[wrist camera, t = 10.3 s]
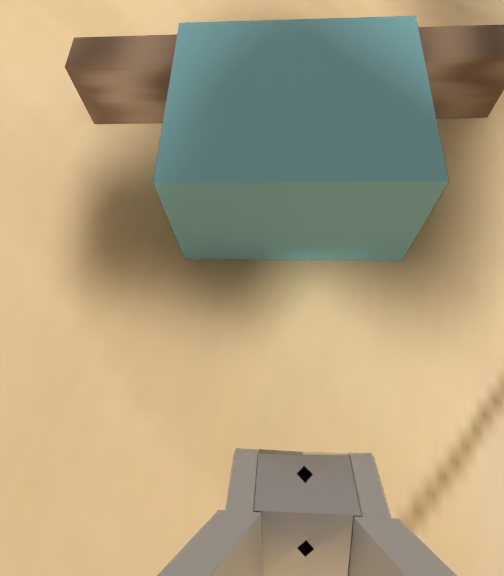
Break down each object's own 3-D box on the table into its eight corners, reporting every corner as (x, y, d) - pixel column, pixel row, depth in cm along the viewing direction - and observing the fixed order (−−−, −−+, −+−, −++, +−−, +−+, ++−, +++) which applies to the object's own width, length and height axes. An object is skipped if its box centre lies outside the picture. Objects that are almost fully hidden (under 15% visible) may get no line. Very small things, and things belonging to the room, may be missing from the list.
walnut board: (479, 88, 32) (513, 24, 27) (487, 117, 31) (524, 55, 26) (101, 96, 34) (73, 37, 29) (94, 123, 33) (64, 67, 28)
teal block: (383, 122, 31) (415, 16, 24) (401, 261, 26) (448, 181, 19) (200, 124, 32) (179, 22, 25) (185, 260, 27) (153, 183, 20)
